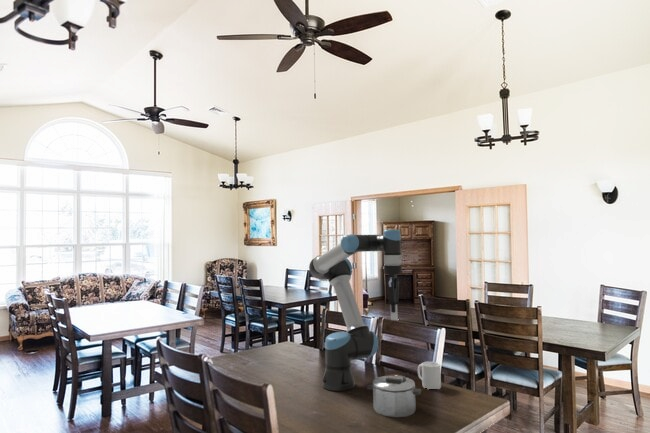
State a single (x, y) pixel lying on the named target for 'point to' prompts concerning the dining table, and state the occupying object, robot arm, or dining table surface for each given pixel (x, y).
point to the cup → (430, 375)
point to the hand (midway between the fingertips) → (394, 319)
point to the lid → (394, 383)
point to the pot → (394, 401)
